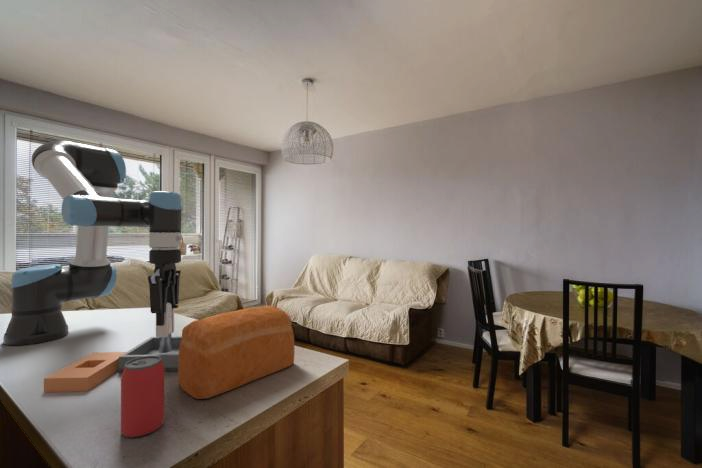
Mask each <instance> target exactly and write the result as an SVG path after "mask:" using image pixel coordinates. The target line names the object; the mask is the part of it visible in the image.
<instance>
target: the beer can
mask: <svg viewBox="0 0 702 468" xmlns="http://www.w3.org/2000/svg"><path fill="white" fill-rule="evenodd" d="M164 422H165V372H164V366H163V364H162V362H161V358H160V357H159V356H144V357H139V358H135V359H132V360H130V361H128V362H127V363H126V364H125V368H124V371H123V373H121V378H120V432H121V434H122V435H123V436H124V437H126V438H140V437H144V436H147V435H150V434H151V433H154V432H155V431H157V430H159V428H160V427H161V426H162V425H163V424H164Z"/></svg>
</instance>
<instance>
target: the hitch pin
mask: <svg viewBox="0 0 702 468" xmlns="http://www.w3.org/2000/svg"><path fill="white" fill-rule="evenodd" d="M166 312H168V336H167V337H159V353H167V352H170V351H171V350H172V337H173V336H172V334H173V333H172V305H171V303H169V302H167V304H166Z"/></svg>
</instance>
